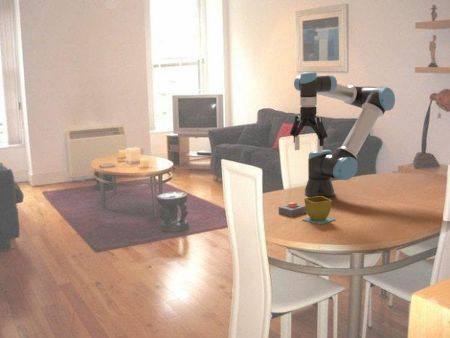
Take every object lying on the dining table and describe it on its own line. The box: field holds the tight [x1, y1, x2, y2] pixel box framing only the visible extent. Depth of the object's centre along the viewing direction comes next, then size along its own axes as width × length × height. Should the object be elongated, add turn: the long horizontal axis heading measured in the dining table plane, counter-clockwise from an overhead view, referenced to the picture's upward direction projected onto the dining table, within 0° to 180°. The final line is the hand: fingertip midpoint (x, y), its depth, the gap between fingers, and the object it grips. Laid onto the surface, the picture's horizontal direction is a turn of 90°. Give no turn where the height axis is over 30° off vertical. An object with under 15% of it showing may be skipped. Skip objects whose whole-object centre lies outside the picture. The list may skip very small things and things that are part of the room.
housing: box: [278, 203, 307, 217], centre depth 244 cm, size 10×8×3 cm
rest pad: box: [302, 216, 336, 226], centre depth 232 cm, size 10×10×1 cm
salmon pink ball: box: [287, 202, 298, 208], centre depth 244 cm, size 4×4×4 cm
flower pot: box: [304, 196, 333, 221], centre depth 231 cm, size 9×9×9 cm
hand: (308, 151), depth 250 cm, fingers open, 13 cm apart
